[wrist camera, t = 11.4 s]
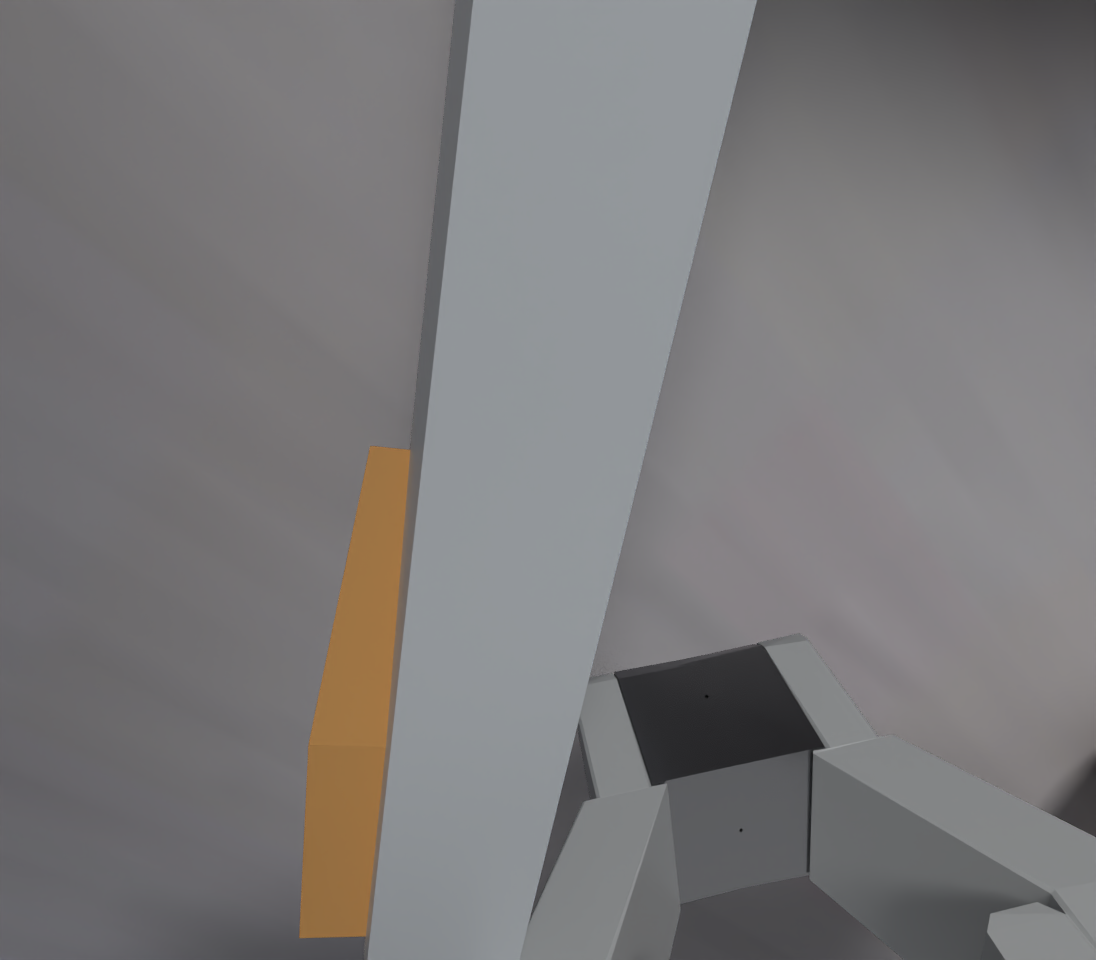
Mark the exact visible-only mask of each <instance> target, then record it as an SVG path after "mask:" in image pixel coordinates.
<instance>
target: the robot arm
mask: <svg viewBox="0 0 1096 960" xmlns="http://www.w3.org/2000/svg"><path fill="white" fill-rule="evenodd" d="M577 729H578V735H579V741H580V746H581V752H582V758H583V763H584V769H585V774H586V780H587V785H588V790H589V796H590V800H587V801H583V803H582V805H581V807H580V809H579V811H578V814H577V816H576V818H575V820H574V823H573V825H572V827H571V829H570V832H569V834H568V836H567V838H566V840H565V843H564V845H563V847H562V849H561V852H560V854H559V856H558V858H557V861H556V863H555V865H554V867H553V869H552V872H551V874H550V876H549V878H548V881H547V883H546V885H545V887H544V890H543V892H542V894H541V896H540V899H539V901H538V903H537V905H536V907H535V910H534V912H533V914H532V916H531V919H530V921H529V923H528V927H527V932H526V936H525V940H524V944H523V948H522V952H521V956H520V960H669V959H670V955H671V950H672V946H673V942H674V937H675V933H676V929H677V924H678V920H679V915H680V911H681V908H680V904H683V903H687V902H691V901H695V900H699V899H703V898H707V897H710V896H714V895H718V894H722V893H726V892H730V891H734V890H738V889H741V888H746V887H751V886H756V885H762V884H767V883H772V882H777V881H782V880H787V879H792V878H797V877H802V876H808V875H810V878H809V880H811V881H812V882H813V883H814V884H815V885H816V886H818V887H819V888H820V889H821V890H822V891H824V892H825V893H826V894H827V895H828V896H829V897H831V898H832V899H833V900H834V901H835V902H837V903H838V904H839V905H840V906H841V907H842V908H844V909H845V910H846V911H847V912H848V913H850V914H851V915H852V916H853V917H854V918H855V919H857V920H858V921H859V922H860V923H861V924H863V925H864V926H865V927H866V928H867V929H868V930H870V931H871V932H872V933H873V934H874V935H876V936H877V937H878V938H879V939H880V940H881V941H883V942H884V943H885V944H886V945H887V946H888V947H890V948H891V949H892V950H893V951H894V952H896V953H897V954H898V955H899V956H900V957H901V958H903V959H904V960H1096V837H1094V836H1092V835H1090V834H1088V833H1087V832H1085V831H1083V830H1081V829H1079V828H1077V827H1075V826H1073V825H1071V824H1069V823H1067V822H1065V821H1063V820H1061V819H1059V818H1057V817H1055V816H1053V815H1051V814H1049V813H1047V812H1045V811H1043V810H1041V809H1039V808H1037V807H1035V806H1033V805H1031V804H1029V803H1027V802H1025V801H1023V800H1021V799H1019V798H1018V797H1016V796H1014V795H1012V794H1010V793H1008V792H1006V791H1004V790H1002V789H1000V788H998V787H996V786H994V785H992V784H990V783H988V782H986V781H984V780H982V779H980V778H978V777H976V776H974V775H972V774H970V773H968V772H966V771H964V770H962V769H960V768H958V767H956V766H954V765H952V764H950V763H948V762H947V761H945V760H943V759H941V758H939V757H937V756H935V755H933V754H931V753H929V752H927V751H925V750H923V749H921V748H919V747H917V746H915V745H913V744H911V743H909V742H907V741H905V740H903V739H901V738H899V737H897V736H895V735H893V734H892V735H887V736H882V737H879V736H878V735H877V733H876V732H875V731H874V729H873V728H872V726H871V725H870V724H869V722H868V721H867V720H866V718H865V717H864V715H863V714H862V713H861V711H860V710H859V709H858V707H857V706H856V704H855V703H854V702H853V700H852V699H851V698H850V696H849V695H848V693H847V692H846V691H845V689H844V688H843V686H842V685H841V684H840V682H839V681H838V680H837V678H836V677H835V675H834V674H833V673H832V671H831V670H830V669H829V667H828V666H827V664H826V663H825V662H824V660H823V659H822V658H821V656H820V655H819V653H818V652H817V651H816V649H815V648H814V647H813V645H812V644H811V642H810V641H809V640H808V638H807V637H805V636H803V635H801V634H799V633H798V634H794V635H789V636H785V637H780V638H776V639H772V640H767V641H763V642H758V643H757V644H752V645H747V646H742V647H738V648H733V649H729V650H724V651H719V652H715V653H710V654H705V655H701V656H696V657H692V658H687V659H682V660H677V661H671V662H666V663H660V664H655V665H649V666H644V667H638V668H633V669H627V670H622V671H617V672H614V675H613V674H612V673H611V674H606V675H600V676H594V677H589V681H588V685H587V689H586V693H585V697H584V701H583V705H582V709H581V713H580V717H579V721H578V726H577Z"/></svg>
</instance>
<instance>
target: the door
mask: <svg viewBox="0 0 1096 960" xmlns="http://www.w3.org/2000/svg"><path fill="white" fill-rule="evenodd" d="M756 2H757V0H455V8H454V18H453V28H452V37H451V47H450V57H449V67H448V77H447V87H446V97H445V106H444V116H443V126H442V136H441V146H440V156H439V165H438V175H437V185H436V195H435V205H434V215H433V224H432V234H431V244H430V254H429V264H428V274H427V284H426V293H425V303H424V313H423V323H422V333H421V343H420V352H419V362H418V372H417V382H416V392H415V402H414V412H413V421H412V431H411V441H410V450H406V449H396V448H386V447H377V446H370V450H369V455H368V459H367V464H366V469H365V474H364V479H363V484H362V488H361V493H360V498H359V503H358V508H357V513H356V518H355V522H354V527H353V532H352V537H351V542H350V547H349V551H348V556H347V561H346V566H345V571H344V576H343V580H342V585H341V590H340V595H339V600H338V605H337V609H336V614H335V619H334V624H333V629H332V634H331V639H330V643H329V648H328V653H327V658H326V663H325V668H324V672H323V677H322V682H321V687H320V692H319V697H318V701H317V706H316V711H315V716H314V721H313V726H312V730H311V735H310V740H309V745H308V766H307V787H306V808H305V829H304V850H303V871H302V891H301V912H300V933H299V938H323V937H364V936H365V945H364V957H363V960H520V956H521V952H522V948H523V944H524V940H525V936H526V932H527V927H528V923H529V919H530V915H531V911H532V907H533V903H534V899H535V895H536V891H537V887H538V883H539V879H540V875H541V871H542V867H543V863H544V859H545V855H546V851H547V847H548V843H549V839H550V835H551V831H552V827H553V822H554V818H555V814H556V810H557V806H558V802H559V798H560V794H561V790H562V786H563V782H564V778H565V774H566V770H567V766H568V762H569V758H570V754H571V750H572V746H573V742H574V738H575V734H576V730H577V726H578V721H579V717H580V713H581V709H582V705H583V701H584V697H585V693H586V689H587V685H588V681H589V677H590V673H591V669H592V665H593V661H594V657H595V653H596V649H597V645H598V641H599V637H600V633H601V629H602V625H603V621H604V616H605V612H606V608H607V604H608V600H609V596H610V592H611V588H612V584H613V580H614V576H615V572H616V568H617V564H618V560H619V556H620V552H621V548H622V544H623V540H624V536H625V532H626V528H627V524H628V520H629V515H630V511H631V507H632V503H633V499H634V495H635V491H636V487H637V483H638V479H639V475H640V471H641V467H642V463H643V459H644V455H645V451H646V447H647V443H648V439H649V435H650V431H651V427H652V423H653V419H654V415H655V410H656V406H657V402H658V398H659V394H660V390H661V386H662V382H663V378H664V374H665V370H666V366H667V362H668V358H669V354H670V350H671V346H672V342H673V338H674V334H675V330H676V326H677V322H678V318H679V314H680V309H681V305H682V301H683V297H684V293H685V289H686V285H687V281H688V277H689V273H690V269H691V265H692V261H693V257H694V253H695V249H696V245H697V241H698V237H699V233H700V229H701V225H702V221H703V217H704V213H705V208H706V204H707V200H708V196H709V192H710V188H711V184H712V180H713V176H714V172H715V168H716V164H717V160H718V156H719V152H720V148H721V144H722V140H723V136H724V132H725V128H726V124H727V120H728V116H729V112H730V108H731V103H732V99H733V95H734V91H735V87H736V83H737V79H738V75H739V71H740V67H741V63H742V59H743V55H744V51H745V47H746V43H747V39H748V35H749V31H750V27H751V23H752V19H753V15H754V11H755V7H756Z"/></svg>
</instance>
